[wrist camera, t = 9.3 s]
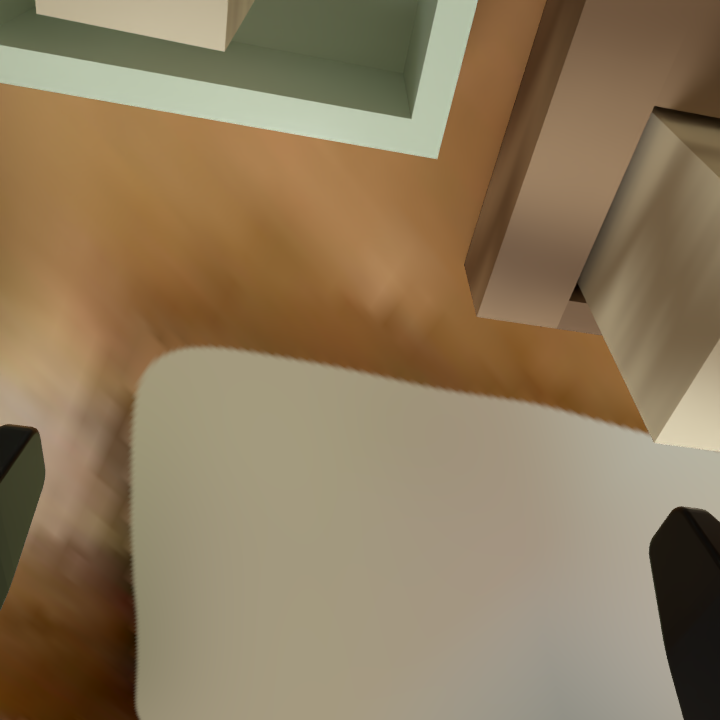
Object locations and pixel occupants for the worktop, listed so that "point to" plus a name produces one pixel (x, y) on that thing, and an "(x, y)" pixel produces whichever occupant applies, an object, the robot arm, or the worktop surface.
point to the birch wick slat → (158, 18)
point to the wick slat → (665, 278)
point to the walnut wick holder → (582, 145)
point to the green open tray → (267, 68)
